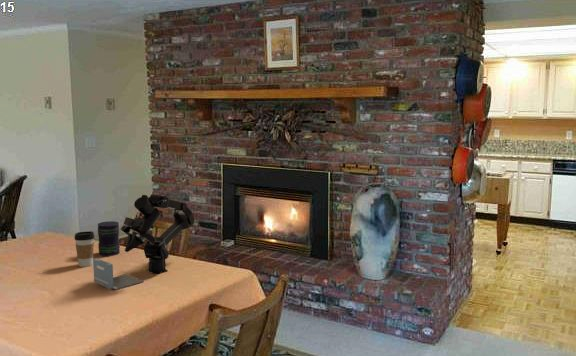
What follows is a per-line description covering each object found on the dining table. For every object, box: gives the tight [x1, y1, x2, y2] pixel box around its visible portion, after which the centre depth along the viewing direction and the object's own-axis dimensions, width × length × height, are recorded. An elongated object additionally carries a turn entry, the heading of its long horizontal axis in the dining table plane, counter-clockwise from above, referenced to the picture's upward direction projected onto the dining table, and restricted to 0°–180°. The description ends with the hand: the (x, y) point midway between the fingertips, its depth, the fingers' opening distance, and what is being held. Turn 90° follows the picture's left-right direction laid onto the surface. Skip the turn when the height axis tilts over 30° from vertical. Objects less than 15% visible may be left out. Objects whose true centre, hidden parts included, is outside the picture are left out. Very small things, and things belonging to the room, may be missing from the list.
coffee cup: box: [74, 231, 95, 268], centre depth 229 cm, size 8×8×15 cm
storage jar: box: [97, 220, 121, 257], centre depth 248 cm, size 10×10×15 cm
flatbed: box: [110, 273, 145, 291], centre depth 207 cm, size 13×13×1 cm
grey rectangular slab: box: [92, 257, 114, 290], centre depth 200 cm, size 2×12×10 cm, turn 49°
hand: (125, 251), depth 208 cm, fingers closed
